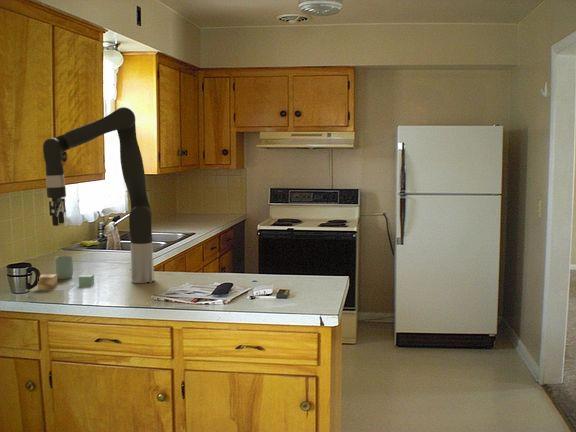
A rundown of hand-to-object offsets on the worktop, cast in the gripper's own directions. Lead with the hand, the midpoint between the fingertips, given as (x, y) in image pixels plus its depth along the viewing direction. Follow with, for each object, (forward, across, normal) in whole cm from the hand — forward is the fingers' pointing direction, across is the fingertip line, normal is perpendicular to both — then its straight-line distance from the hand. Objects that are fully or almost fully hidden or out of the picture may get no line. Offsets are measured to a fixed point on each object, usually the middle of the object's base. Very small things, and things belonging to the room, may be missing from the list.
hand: (58, 224), depth 284 cm
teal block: (+26, -6, -11) cm, 29 cm away
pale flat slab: (+26, -11, +1) cm, 28 cm away
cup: (+26, +10, +2) cm, 28 cm away
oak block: (+25, -11, +3) cm, 27 cm away
